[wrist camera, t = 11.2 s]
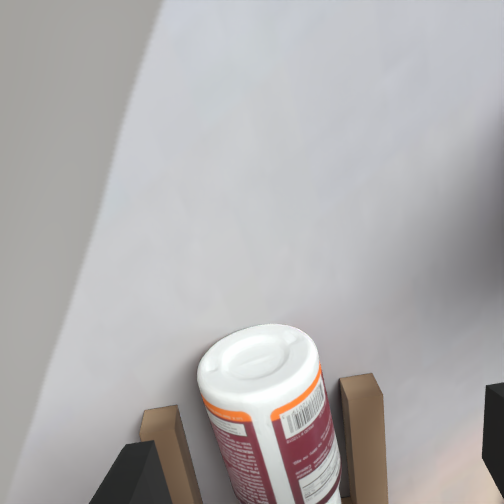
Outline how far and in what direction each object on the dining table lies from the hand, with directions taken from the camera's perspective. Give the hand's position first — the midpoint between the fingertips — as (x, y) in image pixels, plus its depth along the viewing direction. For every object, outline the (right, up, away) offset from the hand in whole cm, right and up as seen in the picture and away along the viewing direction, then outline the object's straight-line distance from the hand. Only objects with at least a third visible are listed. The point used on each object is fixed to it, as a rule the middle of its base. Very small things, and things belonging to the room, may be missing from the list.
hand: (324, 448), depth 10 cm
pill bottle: (-1, +1, +7) cm, 7 cm away
